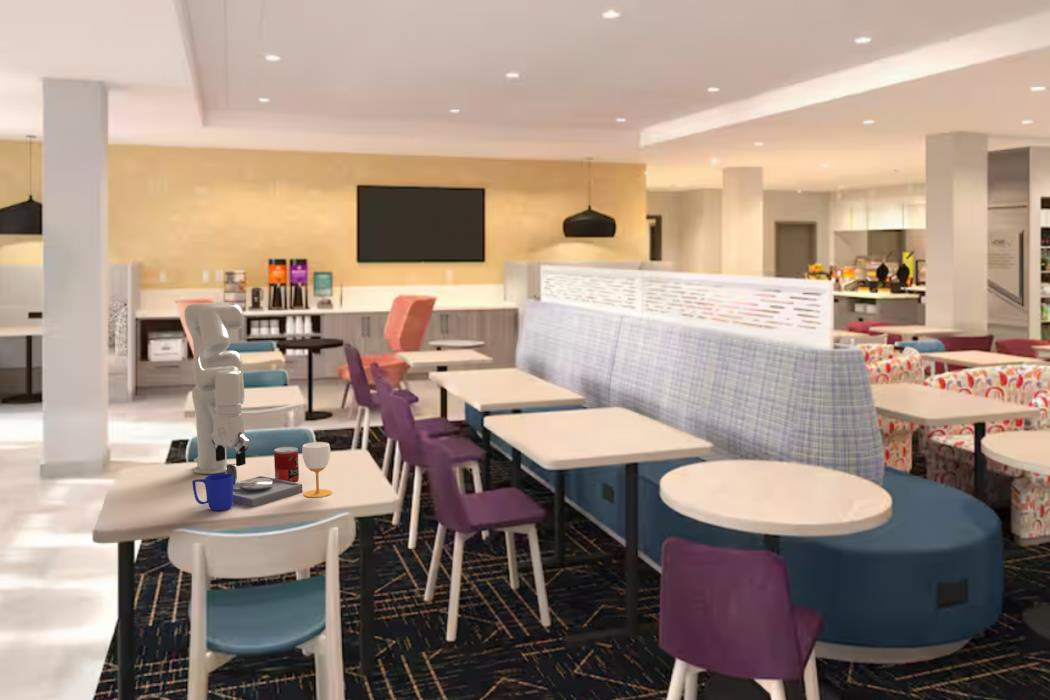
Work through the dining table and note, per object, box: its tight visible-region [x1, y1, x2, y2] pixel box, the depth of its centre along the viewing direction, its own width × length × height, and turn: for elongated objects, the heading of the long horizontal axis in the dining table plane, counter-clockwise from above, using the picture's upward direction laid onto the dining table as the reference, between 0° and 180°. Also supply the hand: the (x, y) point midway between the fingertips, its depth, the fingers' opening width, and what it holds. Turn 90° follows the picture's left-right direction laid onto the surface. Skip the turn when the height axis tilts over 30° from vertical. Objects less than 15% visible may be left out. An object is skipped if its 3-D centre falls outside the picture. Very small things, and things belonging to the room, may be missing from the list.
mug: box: [192, 472, 234, 512], centre depth 268 cm, size 8×12×10 cm
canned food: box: [273, 446, 300, 483], centre depth 300 cm, size 8×8×11 cm
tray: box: [233, 475, 303, 508], centre depth 284 cm, size 20×20×3 cm
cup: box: [301, 441, 333, 499], centre depth 283 cm, size 9×9×16 cm
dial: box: [226, 463, 273, 490], centre depth 283 cm, size 14×10×7 cm
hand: (230, 462), depth 280 cm, fingers open, 9 cm apart
